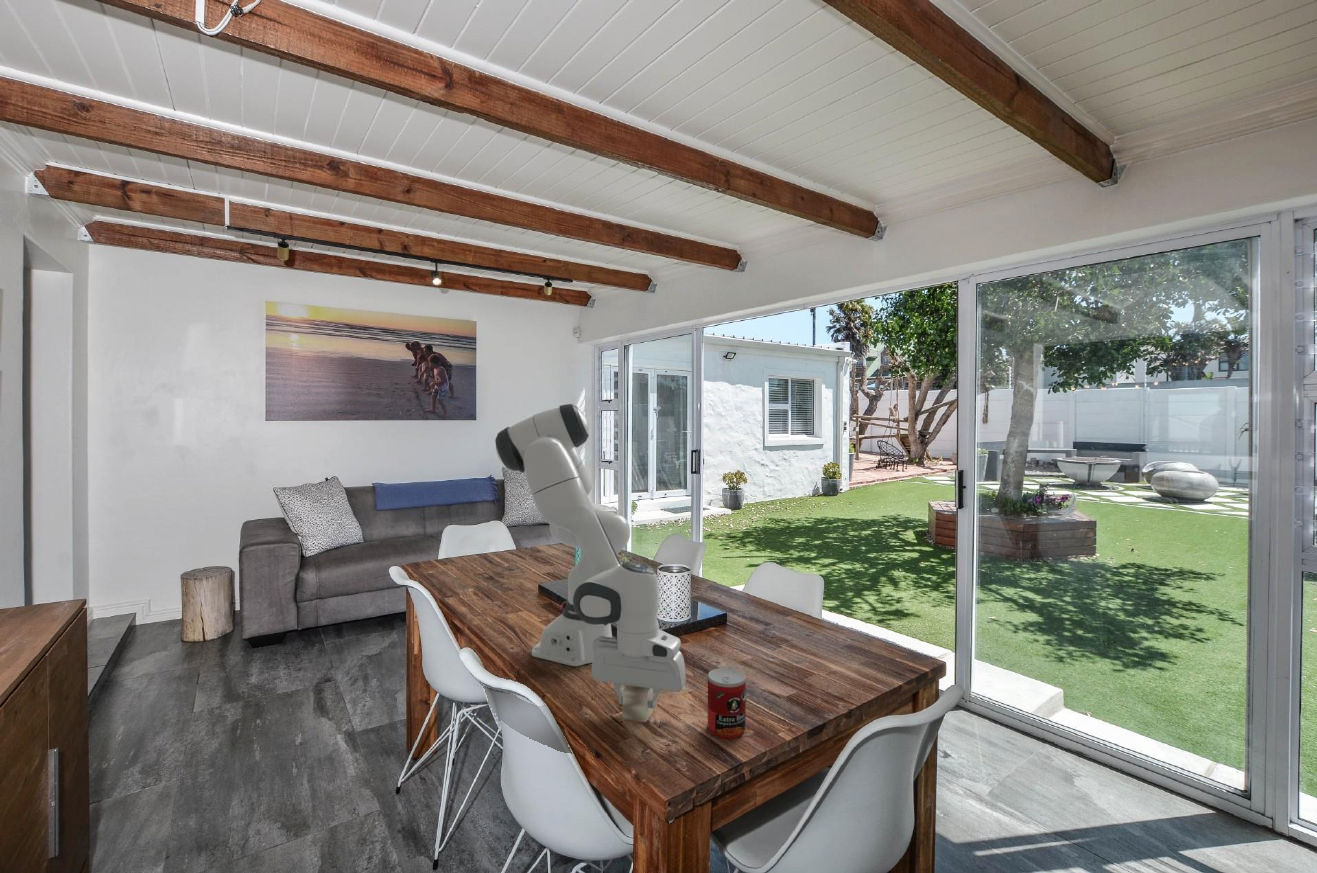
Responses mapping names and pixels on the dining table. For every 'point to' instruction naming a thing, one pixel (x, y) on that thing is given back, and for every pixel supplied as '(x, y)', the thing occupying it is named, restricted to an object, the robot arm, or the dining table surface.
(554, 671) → the dining table surface
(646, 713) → the birch block
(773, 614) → the dining table surface
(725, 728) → the canned food
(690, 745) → the dining table surface
